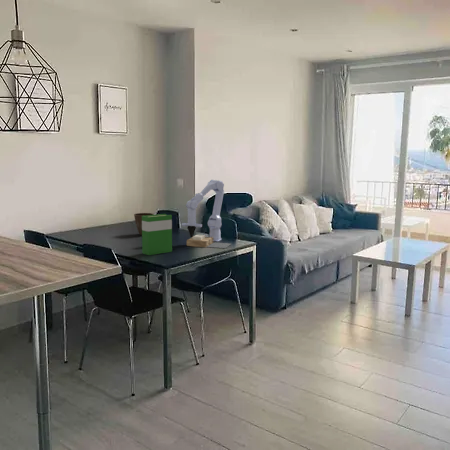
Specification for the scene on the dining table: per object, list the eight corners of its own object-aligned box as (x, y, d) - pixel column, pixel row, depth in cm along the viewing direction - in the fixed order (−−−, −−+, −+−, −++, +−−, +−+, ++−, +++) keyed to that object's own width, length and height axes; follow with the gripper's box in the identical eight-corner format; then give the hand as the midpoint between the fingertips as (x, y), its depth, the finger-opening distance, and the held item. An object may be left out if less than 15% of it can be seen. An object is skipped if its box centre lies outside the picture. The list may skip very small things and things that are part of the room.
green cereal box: (165, 249, 313) (165, 213, 309) (172, 251, 307) (171, 214, 304) (142, 253, 302) (141, 215, 298) (148, 255, 296) (147, 217, 292)
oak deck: (194, 241, 341) (194, 236, 341) (213, 242, 337) (213, 237, 337) (186, 245, 326) (186, 240, 326) (205, 247, 322) (205, 241, 322)
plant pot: (155, 235, 364) (155, 215, 361) (136, 236, 358) (136, 215, 356) (151, 232, 378) (151, 212, 375) (132, 233, 372) (132, 213, 370)
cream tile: (197, 237, 337) (197, 234, 336) (205, 237, 335) (205, 235, 335) (192, 239, 328) (192, 236, 328) (200, 240, 326) (200, 237, 326)
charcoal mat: (213, 243, 337) (213, 242, 337) (231, 244, 334) (231, 243, 334) (206, 247, 322) (206, 246, 322) (224, 248, 318) (224, 247, 318)
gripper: (179, 217, 329) (180, 237, 331) (199, 218, 325) (199, 238, 327) (183, 216, 336) (183, 235, 338) (203, 217, 332) (202, 236, 334)
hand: (191, 236), depth 333 cm, fingers closed
